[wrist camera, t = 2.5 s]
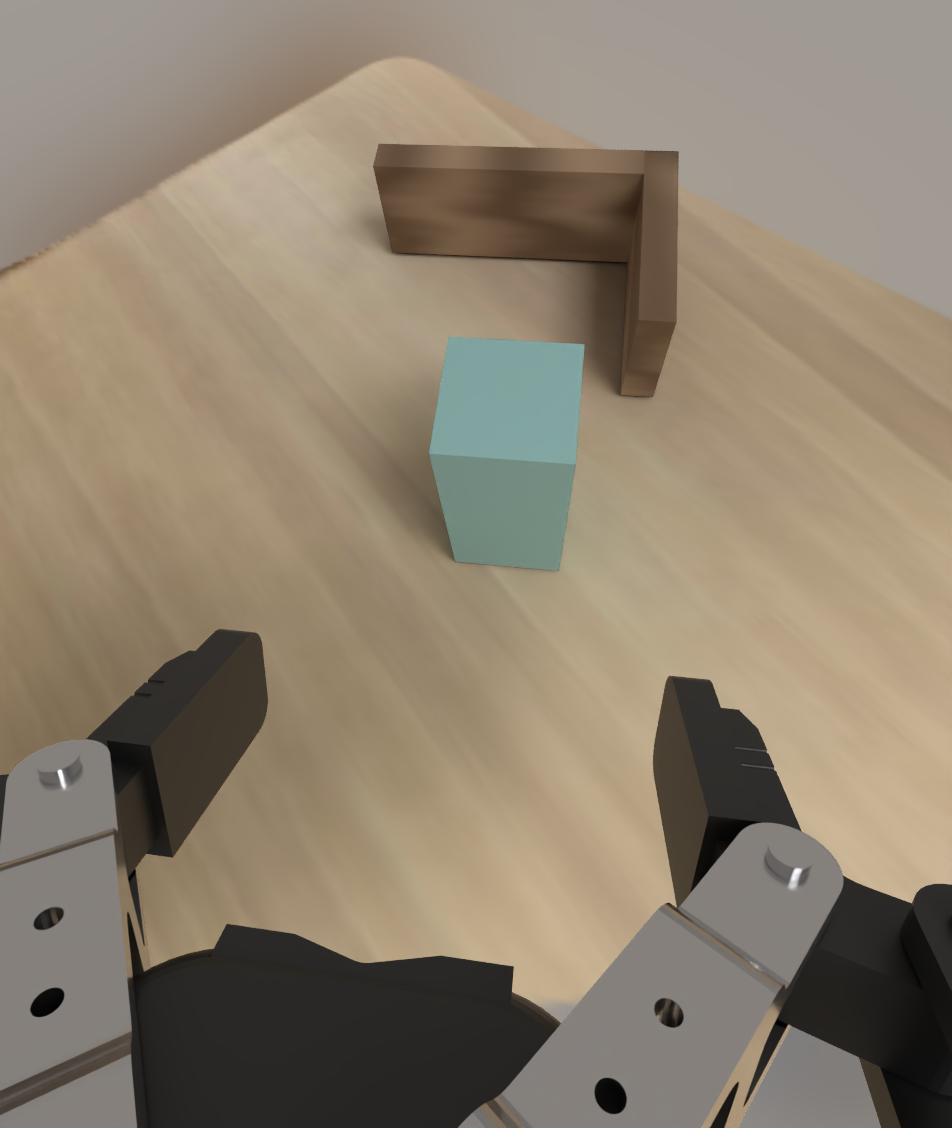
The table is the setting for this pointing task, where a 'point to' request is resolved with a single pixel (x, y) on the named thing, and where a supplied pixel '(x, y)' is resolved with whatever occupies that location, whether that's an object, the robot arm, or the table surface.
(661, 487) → the table surface
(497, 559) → the teal block
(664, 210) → the walnut corner
